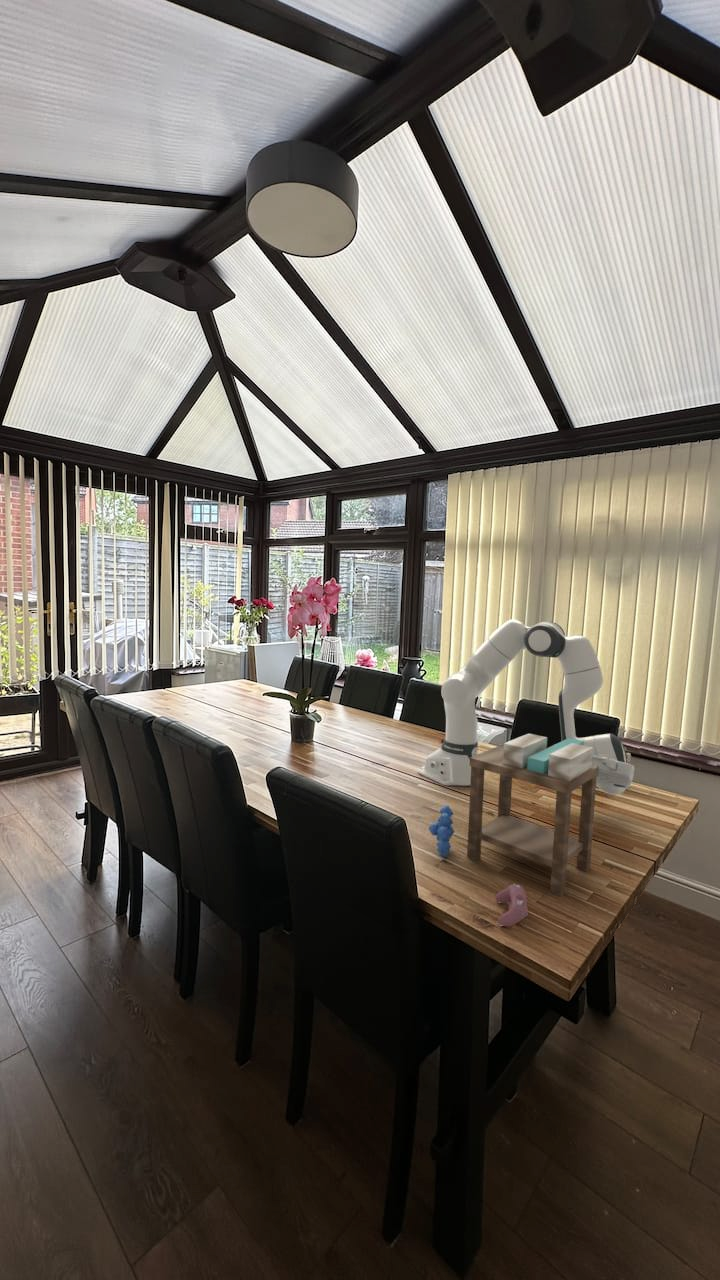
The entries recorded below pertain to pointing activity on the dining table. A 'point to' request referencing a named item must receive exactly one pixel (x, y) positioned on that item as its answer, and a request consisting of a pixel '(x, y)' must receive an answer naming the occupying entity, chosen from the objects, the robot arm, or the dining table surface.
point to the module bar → (547, 756)
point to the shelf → (524, 837)
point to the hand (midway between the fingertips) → (587, 756)
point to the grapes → (443, 830)
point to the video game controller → (512, 905)
